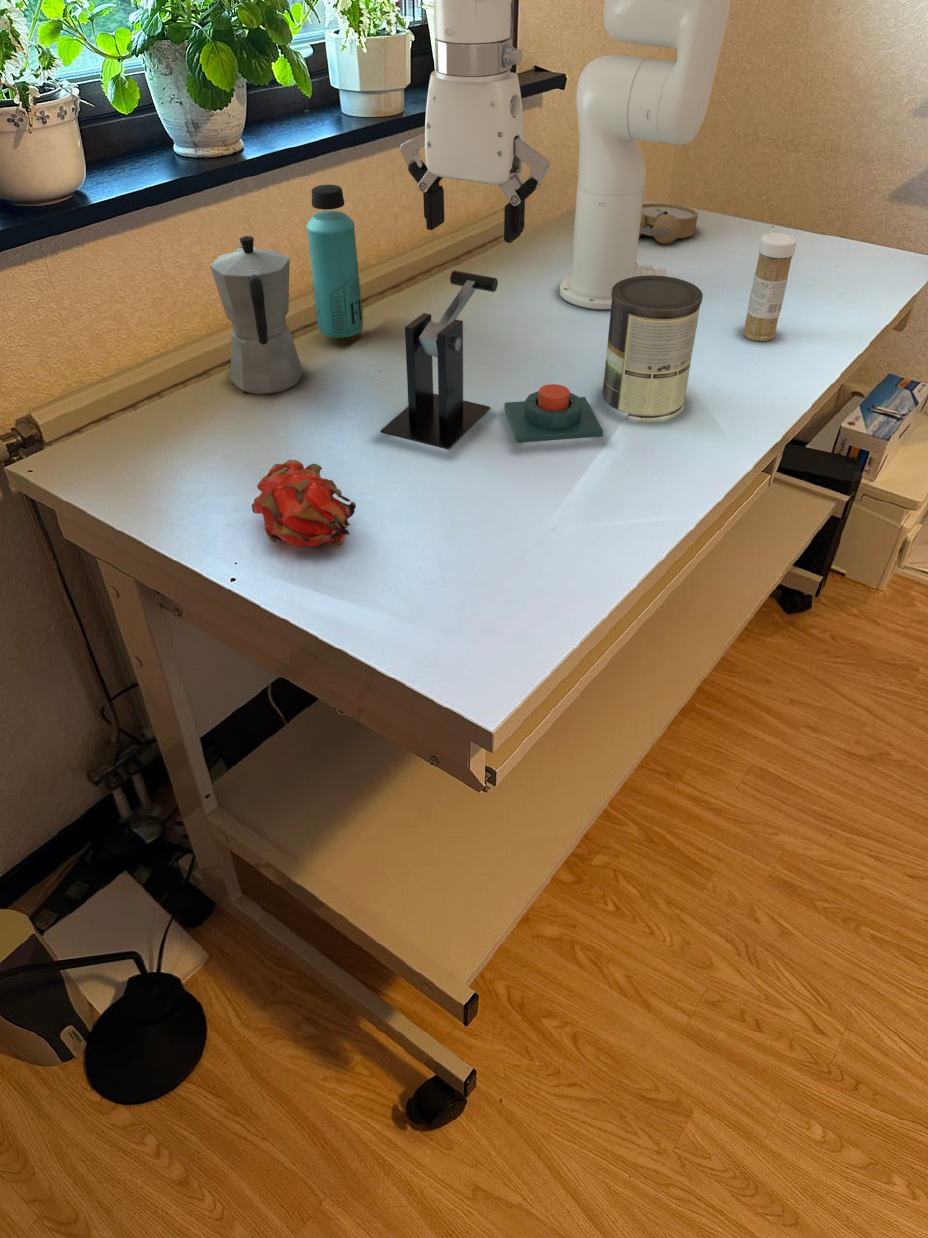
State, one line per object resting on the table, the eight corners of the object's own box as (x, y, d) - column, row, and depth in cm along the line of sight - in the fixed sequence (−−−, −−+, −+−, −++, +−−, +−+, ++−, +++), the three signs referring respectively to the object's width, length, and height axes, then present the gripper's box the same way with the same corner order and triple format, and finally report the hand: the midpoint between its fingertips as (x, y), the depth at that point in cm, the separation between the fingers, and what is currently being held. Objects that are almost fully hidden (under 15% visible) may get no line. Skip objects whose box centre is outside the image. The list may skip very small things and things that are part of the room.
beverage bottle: (357, 350, 127) (344, 196, 115) (311, 346, 129) (293, 193, 116) (370, 330, 132) (359, 180, 119) (325, 327, 133) (310, 178, 120)
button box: (583, 408, 115) (586, 382, 112) (601, 443, 108) (604, 416, 106) (503, 414, 114) (504, 388, 111) (517, 450, 107) (518, 422, 105)
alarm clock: (709, 210, 164) (675, 217, 153) (702, 240, 166) (668, 249, 155) (651, 199, 168) (614, 205, 158) (645, 228, 171) (608, 236, 160)
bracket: (425, 399, 117) (422, 299, 108) (490, 415, 113) (492, 312, 105) (380, 439, 109) (373, 334, 101) (449, 457, 106) (447, 350, 98)
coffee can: (583, 403, 116) (593, 291, 107) (634, 377, 121) (648, 268, 112) (650, 432, 110) (667, 316, 101) (701, 403, 116) (721, 291, 106)
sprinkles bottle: (767, 327, 133) (788, 230, 124) (780, 341, 129) (803, 242, 121) (736, 330, 132) (755, 232, 124) (749, 343, 129) (769, 244, 120)
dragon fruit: (274, 521, 99) (349, 582, 94) (216, 511, 92) (294, 576, 86) (310, 451, 97) (389, 509, 92) (253, 435, 89) (336, 497, 84)
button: (564, 396, 110) (565, 382, 109) (571, 410, 108) (573, 397, 107) (535, 398, 110) (535, 385, 109) (541, 413, 107) (542, 399, 106)
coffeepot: (227, 360, 125) (202, 221, 113) (297, 353, 127) (280, 215, 115) (235, 414, 114) (209, 266, 102) (312, 405, 116) (295, 258, 104)
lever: (457, 281, 111) (454, 264, 109) (499, 289, 109) (496, 271, 107) (409, 351, 105) (405, 334, 103) (452, 360, 104) (449, 343, 102)
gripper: (566, 58, 93) (557, 233, 105) (415, 44, 99) (421, 211, 111) (537, 73, 88) (530, 255, 100) (379, 58, 94) (390, 232, 106)
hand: (473, 232), depth 105 cm, fingers open, 9 cm apart
